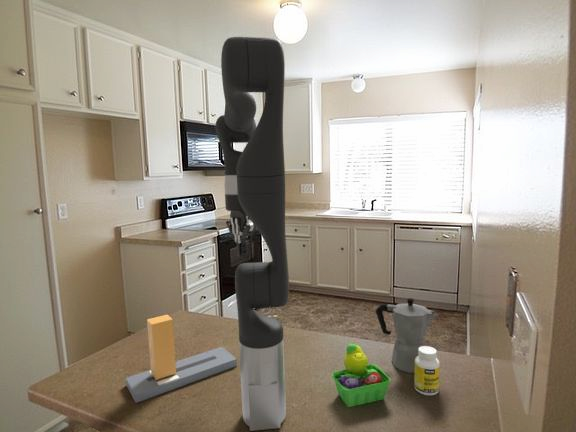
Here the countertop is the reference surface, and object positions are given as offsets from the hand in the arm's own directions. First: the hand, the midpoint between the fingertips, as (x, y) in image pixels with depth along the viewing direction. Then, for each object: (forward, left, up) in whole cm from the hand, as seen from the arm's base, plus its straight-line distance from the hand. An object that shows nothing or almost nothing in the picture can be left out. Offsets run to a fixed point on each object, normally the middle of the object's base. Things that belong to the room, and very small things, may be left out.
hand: (242, 256), depth 102 cm
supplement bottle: (-22, -42, -29) cm, 56 cm away
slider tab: (-9, +20, -27) cm, 35 cm away
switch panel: (-7, +16, -29) cm, 34 cm away
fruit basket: (-22, -26, -29) cm, 45 cm away
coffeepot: (-10, -42, -29) cm, 52 cm away
